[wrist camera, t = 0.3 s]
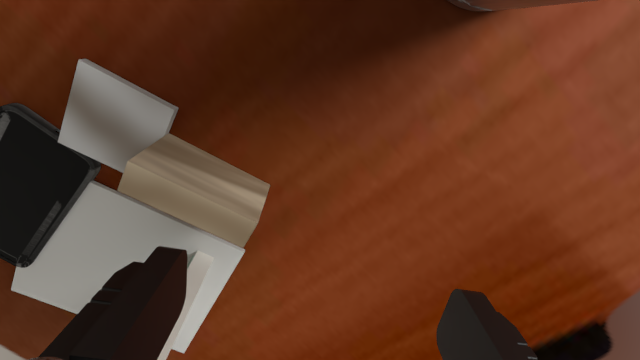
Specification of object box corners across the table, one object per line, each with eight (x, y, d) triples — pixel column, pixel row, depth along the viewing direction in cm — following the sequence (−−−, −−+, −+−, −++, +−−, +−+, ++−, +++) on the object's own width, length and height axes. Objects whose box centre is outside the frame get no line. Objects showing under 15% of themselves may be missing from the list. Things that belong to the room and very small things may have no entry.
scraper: (86, 58, 23) (14, 67, 18) (282, 163, 27) (273, 197, 21) (65, 138, 26) (-3, 168, 21) (246, 225, 29) (229, 270, 24)
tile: (195, 249, 30) (124, 375, 19) (214, 257, 30) (153, 385, 19) (154, 329, 34) (76, 468, 24) (170, 335, 35) (101, 475, 24)
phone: (-62, 223, 29) (2, 98, 24) (-49, 217, 30) (15, 95, 25) (26, 272, 31) (101, 166, 26) (36, 264, 32) (109, 161, 27)
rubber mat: (45, 158, 27) (41, 160, 26) (245, 249, 30) (244, 252, 30) (14, 287, 33) (11, 289, 32) (185, 350, 36) (183, 353, 36)
